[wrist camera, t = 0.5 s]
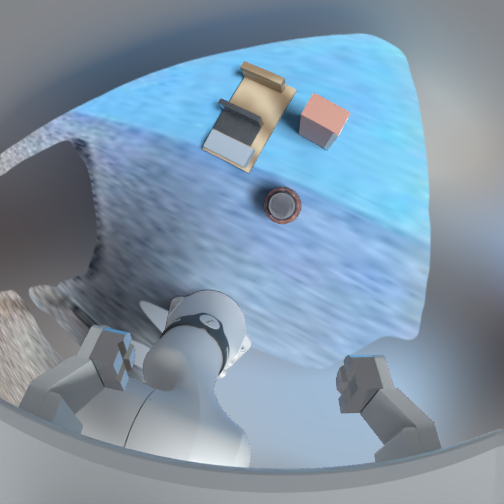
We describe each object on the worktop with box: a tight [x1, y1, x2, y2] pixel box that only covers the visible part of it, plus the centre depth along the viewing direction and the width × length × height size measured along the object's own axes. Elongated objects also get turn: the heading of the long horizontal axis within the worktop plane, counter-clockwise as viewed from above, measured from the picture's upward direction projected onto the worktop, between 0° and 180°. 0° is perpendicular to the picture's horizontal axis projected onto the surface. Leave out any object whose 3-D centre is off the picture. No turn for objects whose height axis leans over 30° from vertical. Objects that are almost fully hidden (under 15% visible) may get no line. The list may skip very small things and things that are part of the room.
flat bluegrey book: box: [203, 129, 255, 168], centre depth 52 cm, size 4×8×3 cm, turn 61°
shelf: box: [203, 61, 296, 173], centre depth 50 cm, size 19×10×6 cm, turn 151°
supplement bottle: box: [264, 187, 301, 224], centre depth 50 cm, size 6×6×11 cm
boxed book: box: [299, 93, 350, 150], centre depth 45 cm, size 4×6×14 cm
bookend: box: [214, 99, 264, 147], centre depth 50 cm, size 5×8×5 cm, turn 61°
